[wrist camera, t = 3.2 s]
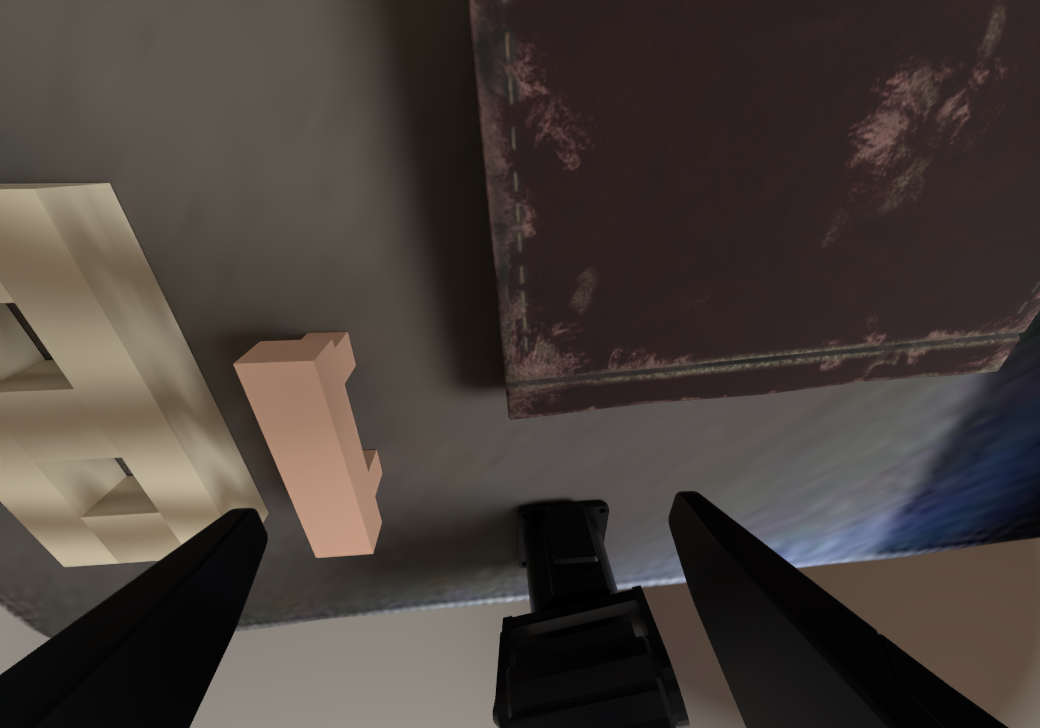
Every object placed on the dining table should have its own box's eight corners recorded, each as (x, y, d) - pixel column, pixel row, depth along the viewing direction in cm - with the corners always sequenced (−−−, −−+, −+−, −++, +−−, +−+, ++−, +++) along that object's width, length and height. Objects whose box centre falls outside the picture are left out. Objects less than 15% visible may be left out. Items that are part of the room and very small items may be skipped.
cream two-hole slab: (268, 513, 25) (243, 554, 23) (109, 523, 25) (64, 567, 22) (109, 182, 16) (33, 188, 13) (-163, 184, 15) (-302, 191, 12)
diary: (903, 342, 24) (997, 387, 19) (505, 381, 23) (510, 437, 18) (1129, -99, 14) (1413, -206, 10) (462, -65, 13) (451, -166, 9)
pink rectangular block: (392, 483, 25) (373, 553, 21) (346, 486, 25) (316, 558, 20) (353, 313, 19) (313, 360, 15) (291, 315, 19) (233, 364, 14)
